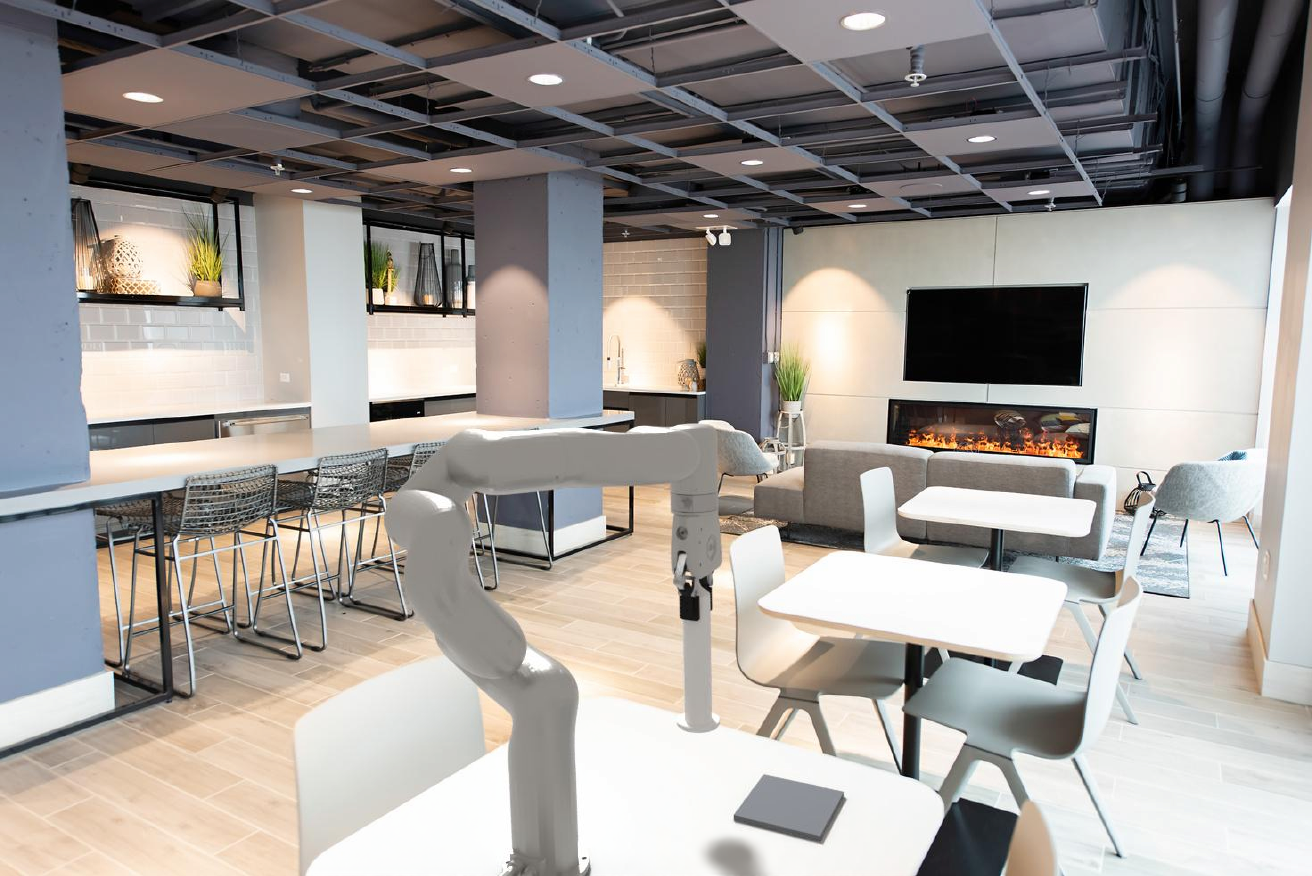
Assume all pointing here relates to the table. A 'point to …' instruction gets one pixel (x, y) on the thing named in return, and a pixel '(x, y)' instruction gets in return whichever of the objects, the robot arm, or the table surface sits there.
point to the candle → (698, 671)
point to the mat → (790, 807)
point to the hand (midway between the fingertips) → (696, 613)
